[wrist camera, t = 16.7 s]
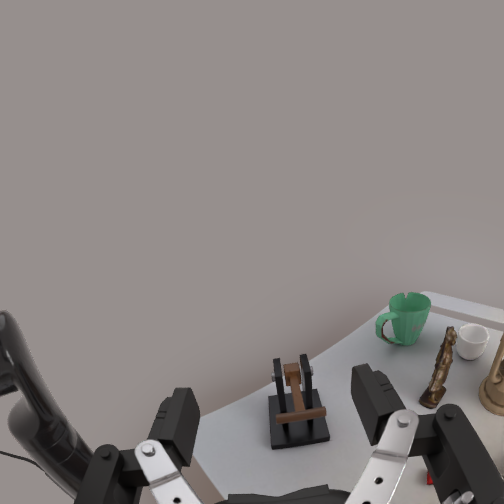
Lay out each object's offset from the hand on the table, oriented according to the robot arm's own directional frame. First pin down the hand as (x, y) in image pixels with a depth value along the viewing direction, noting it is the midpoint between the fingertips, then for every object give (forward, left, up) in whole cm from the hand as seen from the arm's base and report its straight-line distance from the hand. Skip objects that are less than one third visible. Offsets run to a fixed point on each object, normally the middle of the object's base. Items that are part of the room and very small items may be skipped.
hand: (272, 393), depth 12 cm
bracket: (+8, +20, -28) cm, 35 cm away
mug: (+37, +28, -28) cm, 54 cm away
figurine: (+30, +10, -28) cm, 42 cm away
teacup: (+47, +14, -28) cm, 56 cm away
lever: (+6, +15, -17) cm, 24 cm away
